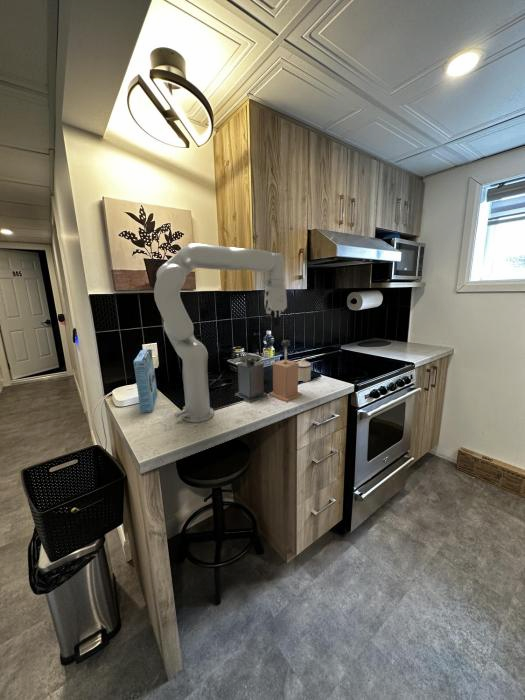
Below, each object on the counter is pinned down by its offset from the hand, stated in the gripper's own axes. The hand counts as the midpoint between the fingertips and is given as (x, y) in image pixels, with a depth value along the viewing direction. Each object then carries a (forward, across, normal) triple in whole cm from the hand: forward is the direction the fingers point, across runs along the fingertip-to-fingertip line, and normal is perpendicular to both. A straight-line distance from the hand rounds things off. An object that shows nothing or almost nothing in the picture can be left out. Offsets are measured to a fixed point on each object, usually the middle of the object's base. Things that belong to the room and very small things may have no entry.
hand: (275, 325), depth 121 cm
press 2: (+34, +3, -3) cm, 34 cm away
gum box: (+33, -47, +36) cm, 67 cm away
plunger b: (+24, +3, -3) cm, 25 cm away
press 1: (+34, -9, +8) cm, 36 cm away
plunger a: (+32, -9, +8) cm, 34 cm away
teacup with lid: (+34, +26, +6) cm, 43 cm away
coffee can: (+34, +2, +21) cm, 40 cm away
